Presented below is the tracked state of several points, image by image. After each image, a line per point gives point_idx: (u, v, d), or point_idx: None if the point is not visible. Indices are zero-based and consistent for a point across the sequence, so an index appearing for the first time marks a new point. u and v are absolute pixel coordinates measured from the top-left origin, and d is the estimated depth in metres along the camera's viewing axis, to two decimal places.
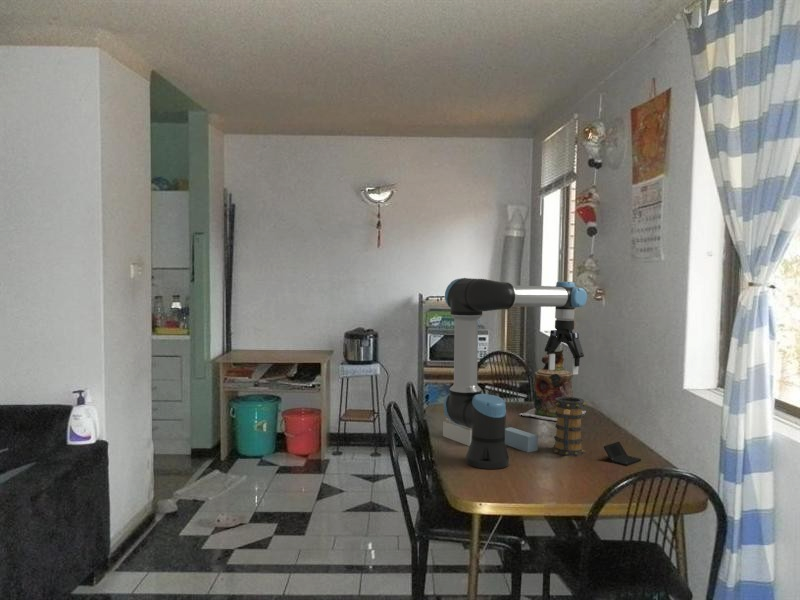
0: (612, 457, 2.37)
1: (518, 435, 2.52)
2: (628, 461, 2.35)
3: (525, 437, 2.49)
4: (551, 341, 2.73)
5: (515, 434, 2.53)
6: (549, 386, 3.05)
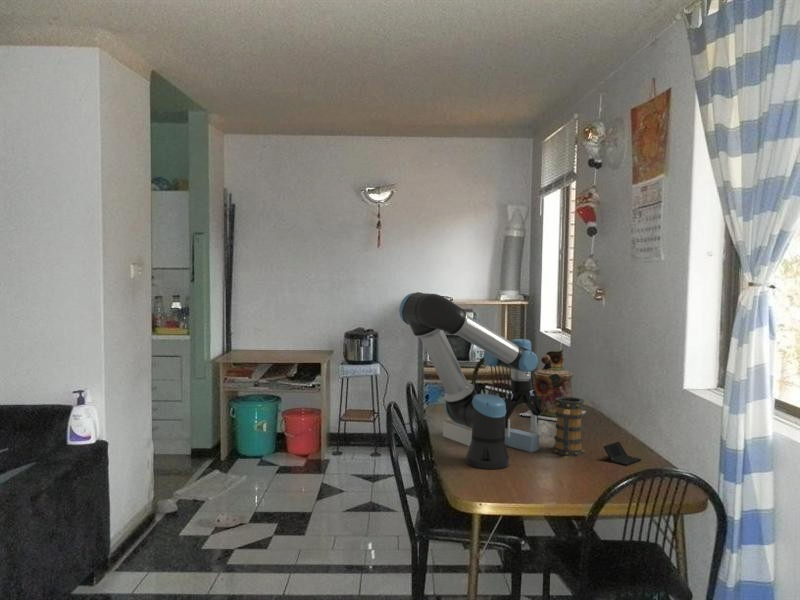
0: (612, 457, 2.37)
1: (519, 435, 2.52)
2: (628, 461, 2.35)
3: (528, 437, 2.49)
4: (533, 401, 2.59)
5: (516, 434, 2.53)
6: (548, 386, 3.05)
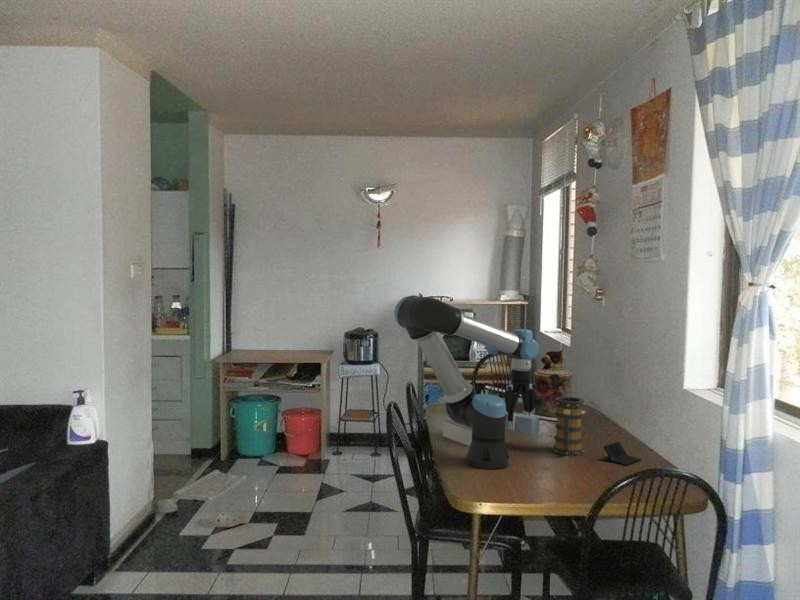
0: (612, 457, 2.37)
1: (520, 418, 2.51)
2: (628, 461, 2.35)
3: (528, 419, 2.49)
4: (529, 396, 2.57)
5: (516, 417, 2.52)
6: (548, 386, 3.05)
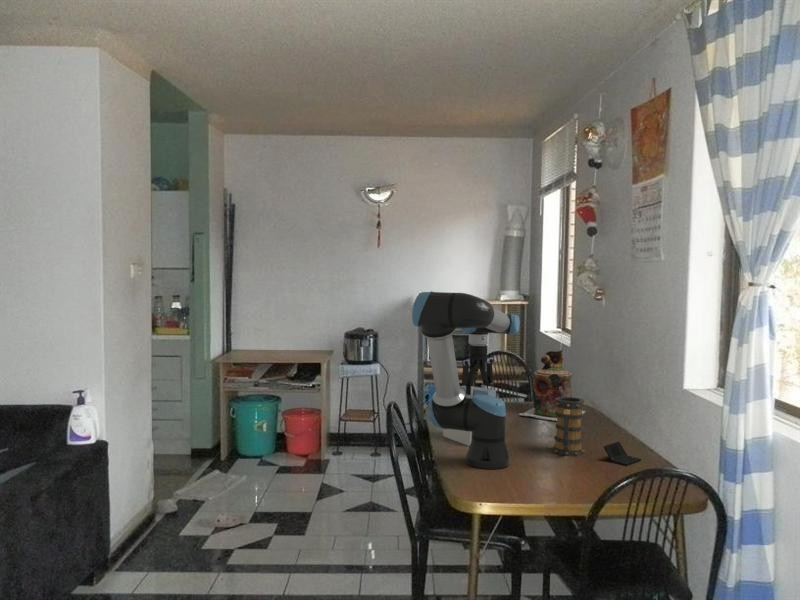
0: (612, 457, 2.37)
1: (477, 391, 2.61)
2: (628, 461, 2.35)
3: (485, 392, 2.58)
4: (487, 370, 2.66)
5: (474, 390, 2.62)
6: (548, 386, 3.05)
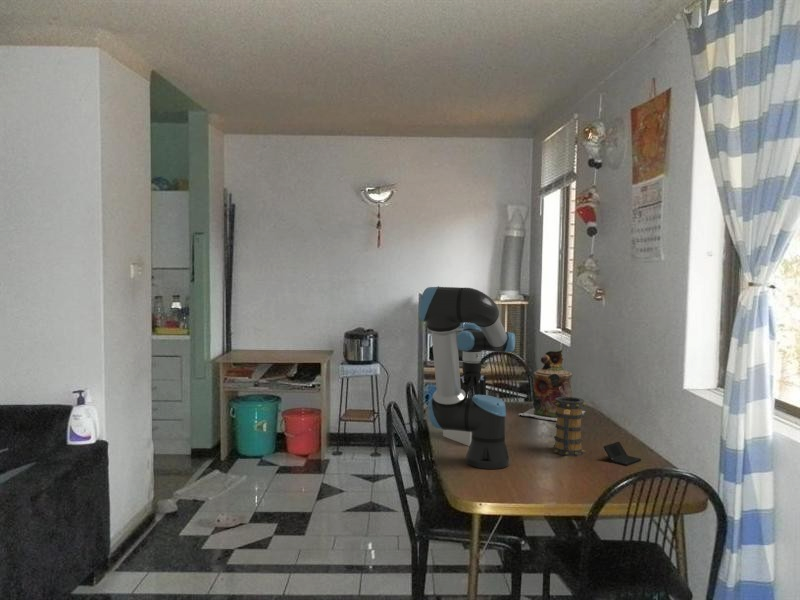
0: (612, 457, 2.37)
1: None
2: (628, 461, 2.35)
3: None
4: (480, 387, 2.68)
5: None
6: (548, 386, 3.05)
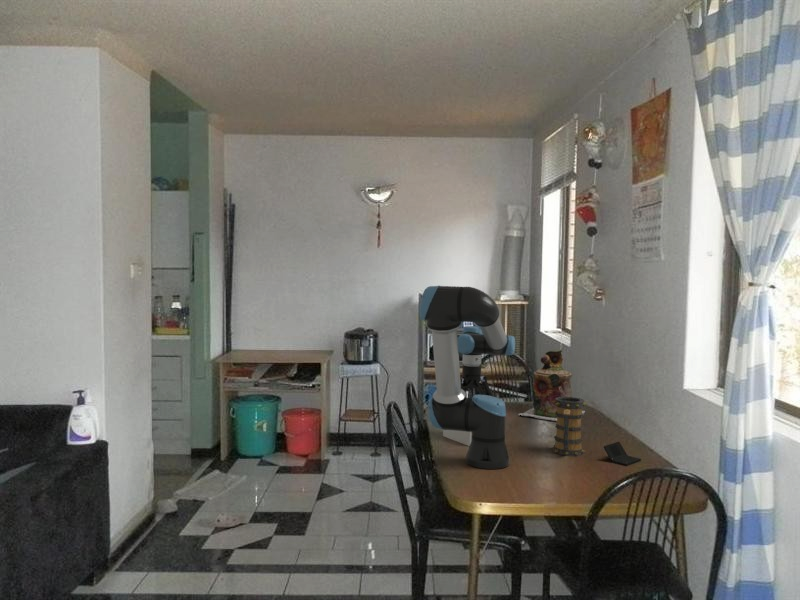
0: (612, 457, 2.37)
1: None
2: (628, 461, 2.35)
3: None
4: (484, 387, 2.68)
5: None
6: (548, 386, 3.05)
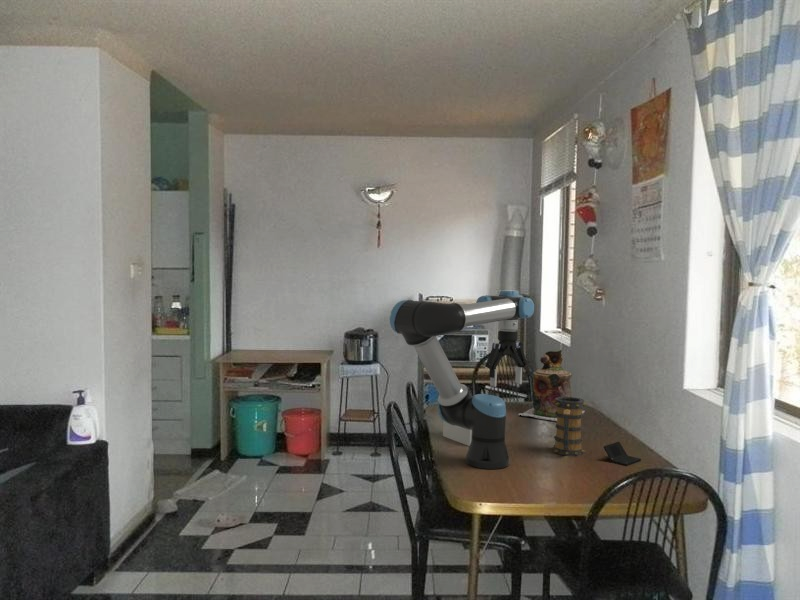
0: (612, 457, 2.37)
1: None
2: (628, 461, 2.35)
3: None
4: (518, 353, 2.61)
5: None
6: (547, 386, 3.05)
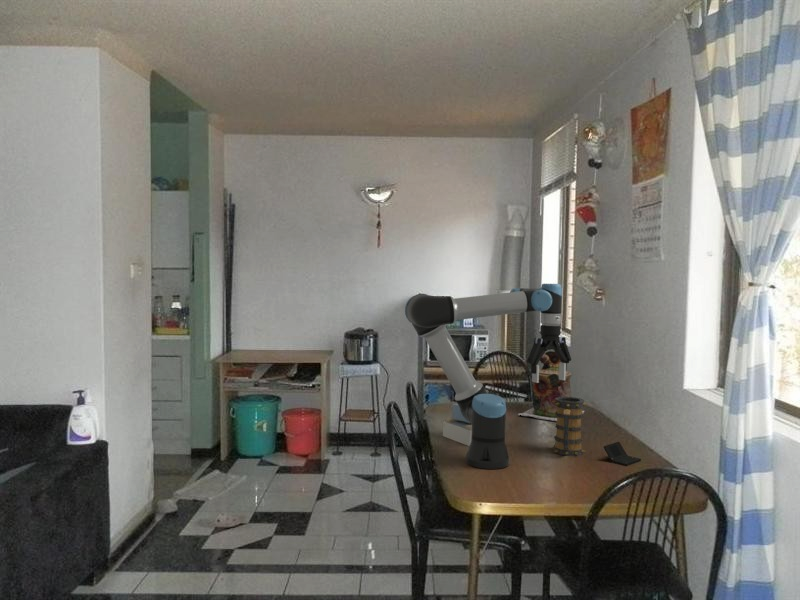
0: (612, 457, 2.37)
1: None
2: (628, 461, 2.35)
3: None
4: (562, 349, 2.52)
5: None
6: (547, 386, 3.05)
